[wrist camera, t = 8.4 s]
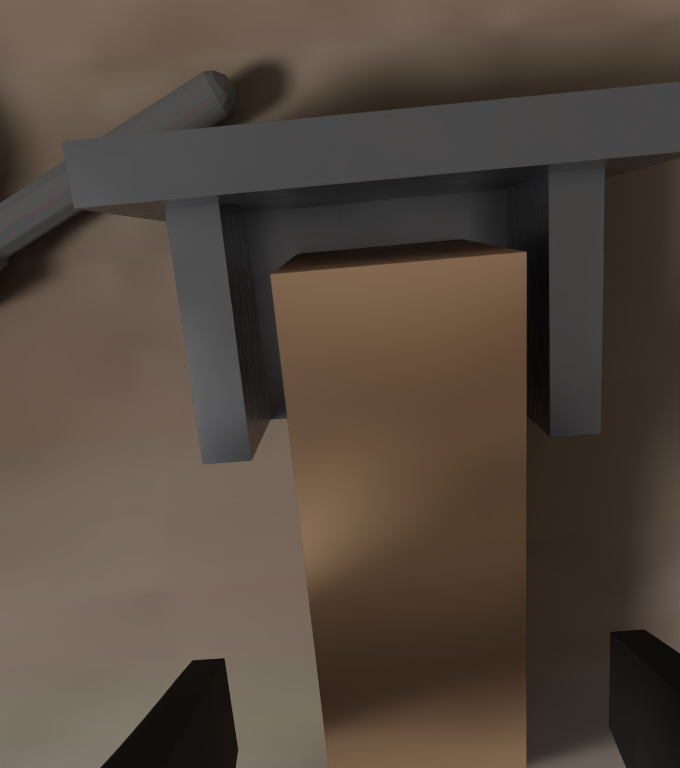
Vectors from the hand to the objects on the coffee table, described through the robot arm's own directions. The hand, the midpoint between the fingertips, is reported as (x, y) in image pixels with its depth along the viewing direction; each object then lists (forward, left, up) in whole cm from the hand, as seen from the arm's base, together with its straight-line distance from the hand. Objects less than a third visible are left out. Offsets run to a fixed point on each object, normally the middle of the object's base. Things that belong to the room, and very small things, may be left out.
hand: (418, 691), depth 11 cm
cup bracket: (+7, 0, -5) cm, 9 cm away
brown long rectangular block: (0, 0, -5) cm, 5 cm away
